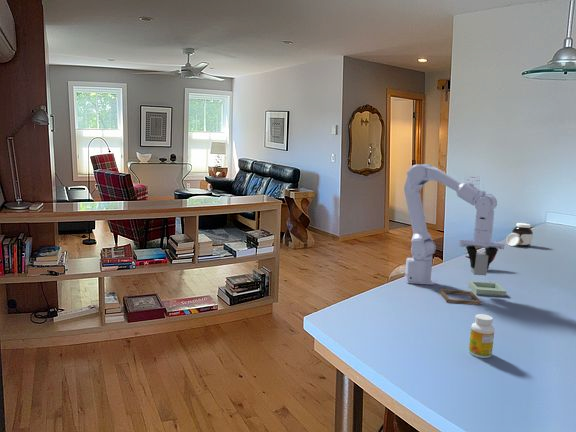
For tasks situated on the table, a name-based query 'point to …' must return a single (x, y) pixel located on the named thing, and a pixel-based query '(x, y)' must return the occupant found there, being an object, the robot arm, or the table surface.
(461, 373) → the table surface
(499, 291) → the sage tray
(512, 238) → the spread jar
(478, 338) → the supplement bottle
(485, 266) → the stone block
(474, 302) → the walnut frame
